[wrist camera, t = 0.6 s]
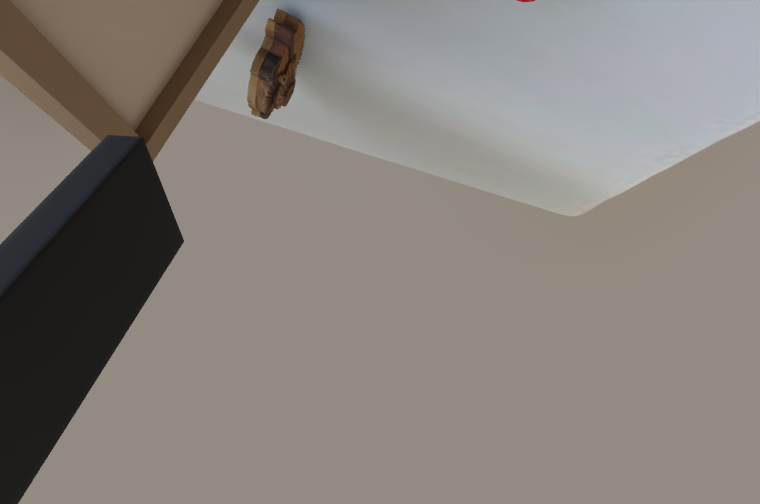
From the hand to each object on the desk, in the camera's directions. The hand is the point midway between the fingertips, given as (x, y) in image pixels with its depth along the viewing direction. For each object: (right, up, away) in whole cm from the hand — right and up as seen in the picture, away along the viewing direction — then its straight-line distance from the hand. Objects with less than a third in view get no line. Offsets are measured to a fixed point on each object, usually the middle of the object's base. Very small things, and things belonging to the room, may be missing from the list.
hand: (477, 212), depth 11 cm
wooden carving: (-12, +24, +53) cm, 59 cm away
